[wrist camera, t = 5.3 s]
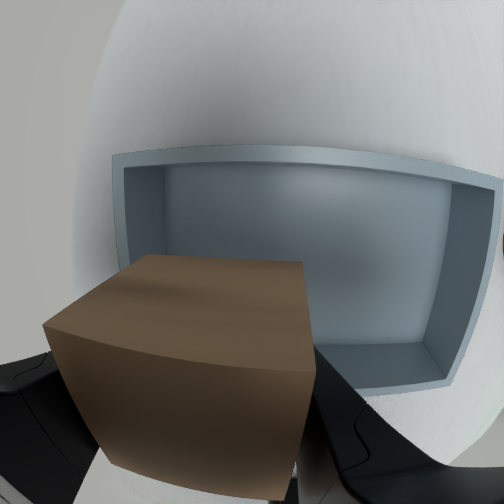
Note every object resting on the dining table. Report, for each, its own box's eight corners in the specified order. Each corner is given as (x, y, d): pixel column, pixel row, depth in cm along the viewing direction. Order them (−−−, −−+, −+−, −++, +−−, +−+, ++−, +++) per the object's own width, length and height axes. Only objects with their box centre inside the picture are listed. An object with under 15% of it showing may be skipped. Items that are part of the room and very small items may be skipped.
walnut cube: (289, 385, 10) (284, 500, 5) (165, 371, 10) (111, 463, 5) (301, 261, 8) (316, 371, 3) (148, 253, 9) (42, 324, 4)
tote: (423, 343, 15) (449, 385, 11) (171, 334, 17) (141, 376, 13) (454, 174, 12) (503, 179, 8) (158, 157, 14) (112, 155, 10)
